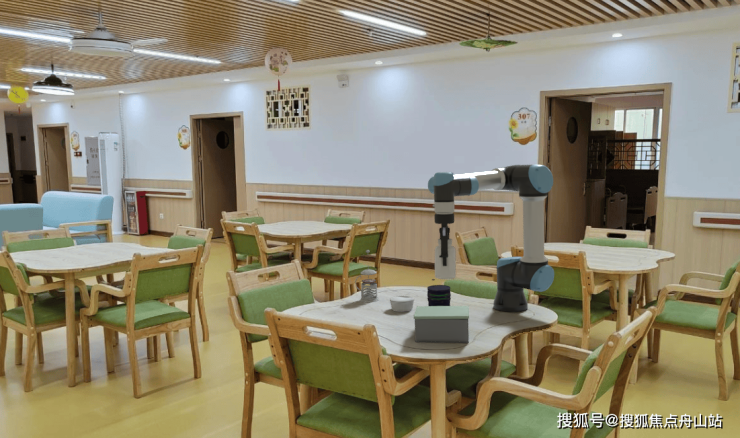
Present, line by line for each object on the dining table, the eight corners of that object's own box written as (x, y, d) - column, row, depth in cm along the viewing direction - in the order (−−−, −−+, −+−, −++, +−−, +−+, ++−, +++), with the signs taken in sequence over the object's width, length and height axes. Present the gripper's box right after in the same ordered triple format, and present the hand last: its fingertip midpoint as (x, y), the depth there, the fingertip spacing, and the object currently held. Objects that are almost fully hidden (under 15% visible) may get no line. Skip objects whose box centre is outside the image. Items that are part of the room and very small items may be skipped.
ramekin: (414, 306, 275) (414, 295, 274) (414, 312, 264) (413, 301, 263) (390, 306, 276) (390, 295, 275) (389, 312, 265) (388, 301, 264)
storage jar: (456, 321, 247) (455, 279, 245) (441, 326, 240) (440, 283, 238) (437, 317, 254) (436, 276, 252) (423, 322, 247) (421, 280, 245)
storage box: (468, 331, 232) (468, 309, 231) (468, 343, 219) (468, 319, 218) (418, 331, 236) (417, 309, 235) (415, 342, 222) (414, 319, 221)
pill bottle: (455, 279, 220) (454, 240, 218) (434, 279, 222) (433, 240, 220) (456, 275, 228) (455, 237, 226) (435, 275, 229) (435, 237, 228)
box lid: (468, 308, 232) (468, 305, 232) (469, 318, 217) (468, 316, 217) (416, 308, 235) (416, 306, 235) (413, 318, 221) (413, 316, 221)
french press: (379, 301, 285) (377, 251, 282) (355, 302, 284) (353, 252, 282) (379, 297, 294) (377, 248, 292) (356, 297, 294) (354, 248, 292)
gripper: (435, 210, 233) (436, 266, 235) (433, 215, 212) (434, 277, 215) (454, 210, 232) (455, 266, 234) (453, 215, 211) (454, 277, 214)
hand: (445, 271), depth 224 cm, fingers closed on pill bottle, 8 cm apart
